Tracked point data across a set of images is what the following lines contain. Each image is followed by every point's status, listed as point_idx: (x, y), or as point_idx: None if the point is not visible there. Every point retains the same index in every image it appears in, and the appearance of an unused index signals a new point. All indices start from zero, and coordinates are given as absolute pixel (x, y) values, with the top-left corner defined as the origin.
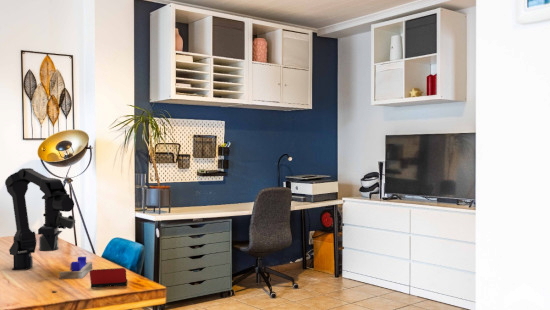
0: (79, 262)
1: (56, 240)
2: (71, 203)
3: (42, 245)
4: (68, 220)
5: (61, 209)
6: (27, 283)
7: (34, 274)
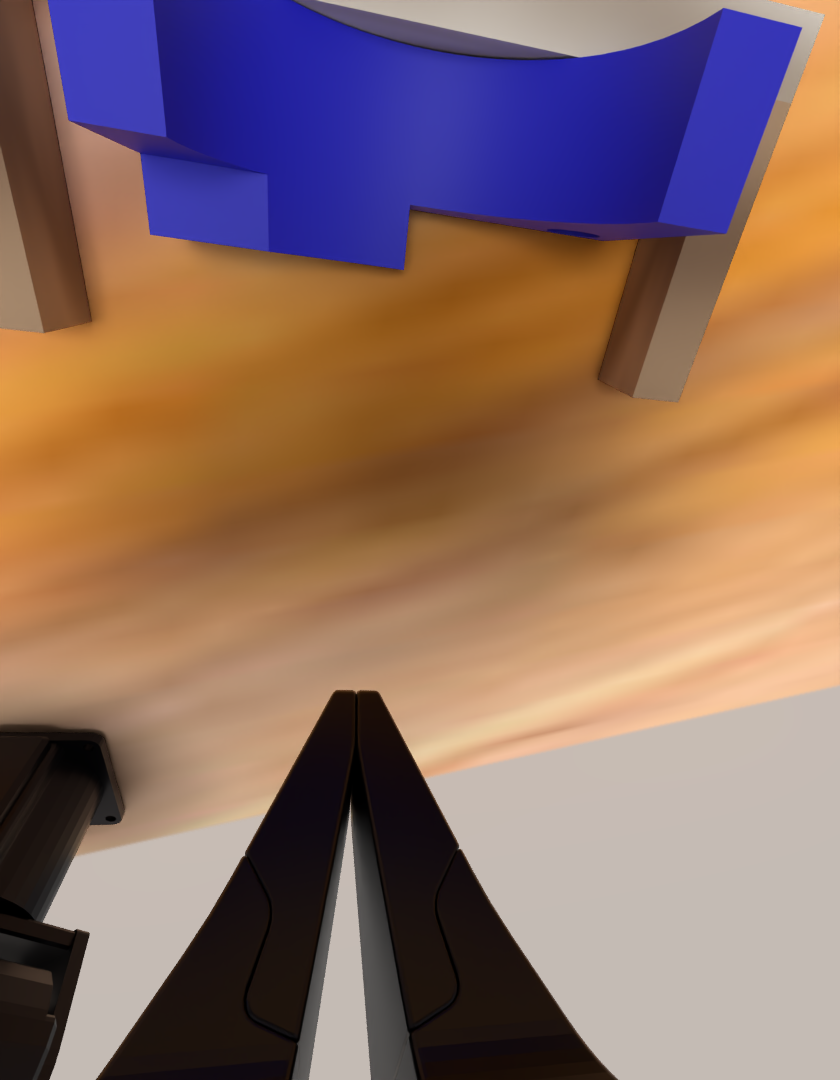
0: (790, 28)
1: (264, 862)
2: None
3: None
4: None
5: None
6: (678, 616)
7: (327, 643)
